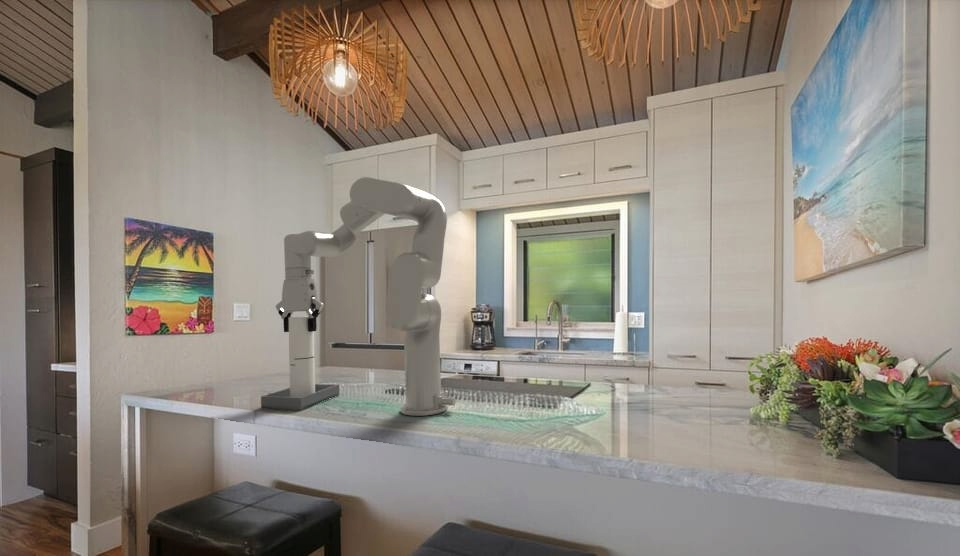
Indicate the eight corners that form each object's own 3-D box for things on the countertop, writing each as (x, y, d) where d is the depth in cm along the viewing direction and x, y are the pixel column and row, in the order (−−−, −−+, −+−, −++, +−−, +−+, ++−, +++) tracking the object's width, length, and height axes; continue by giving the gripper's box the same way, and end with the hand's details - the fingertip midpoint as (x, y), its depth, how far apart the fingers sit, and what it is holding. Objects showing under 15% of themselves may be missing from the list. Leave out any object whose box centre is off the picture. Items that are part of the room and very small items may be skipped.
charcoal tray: (339, 395, 146) (339, 384, 146) (301, 410, 129) (301, 398, 129) (302, 394, 150) (302, 383, 150) (261, 408, 133) (260, 396, 133)
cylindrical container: (309, 401, 136) (307, 317, 136) (285, 402, 136) (284, 317, 137) (318, 396, 143) (317, 315, 144) (296, 396, 143) (294, 316, 144)
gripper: (330, 273, 141) (332, 330, 141) (283, 276, 146) (285, 330, 146) (314, 272, 134) (316, 332, 134) (266, 275, 139) (267, 333, 139)
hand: (300, 331), depth 140 cm, fingers open, 8 cm apart
